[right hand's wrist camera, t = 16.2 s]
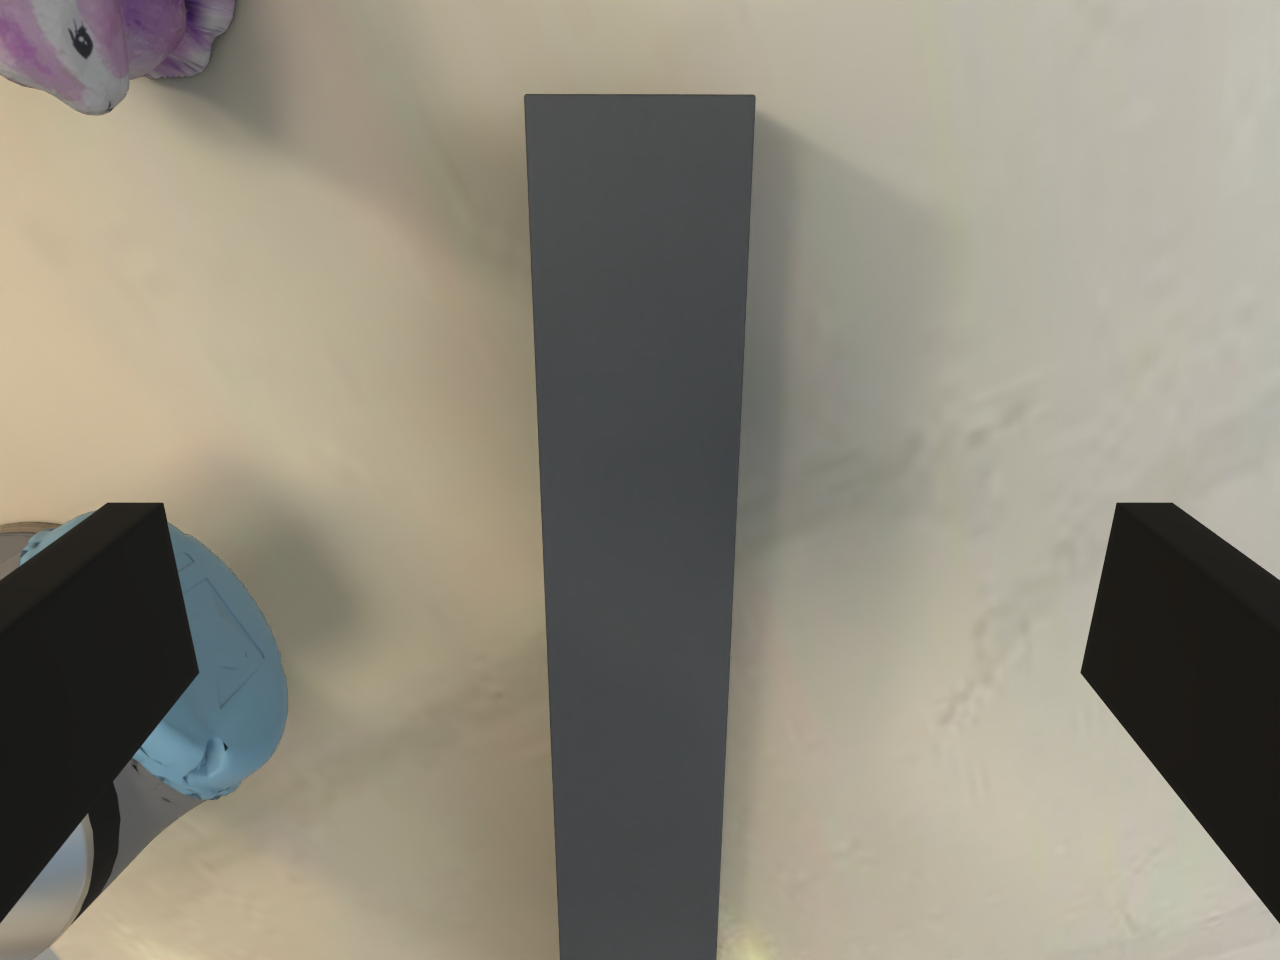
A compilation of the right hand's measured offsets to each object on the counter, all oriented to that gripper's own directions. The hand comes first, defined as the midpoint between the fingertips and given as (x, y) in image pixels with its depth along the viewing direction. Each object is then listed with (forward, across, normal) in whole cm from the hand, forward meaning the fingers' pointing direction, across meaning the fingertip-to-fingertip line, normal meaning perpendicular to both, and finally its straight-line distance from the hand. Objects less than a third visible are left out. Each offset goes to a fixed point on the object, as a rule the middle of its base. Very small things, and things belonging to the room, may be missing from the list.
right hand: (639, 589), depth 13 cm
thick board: (+35, 0, -25) cm, 43 cm away
